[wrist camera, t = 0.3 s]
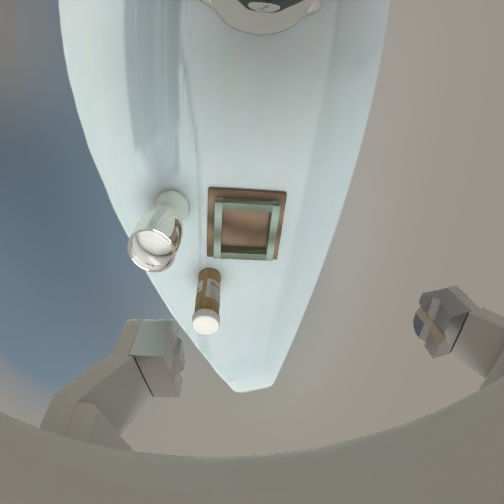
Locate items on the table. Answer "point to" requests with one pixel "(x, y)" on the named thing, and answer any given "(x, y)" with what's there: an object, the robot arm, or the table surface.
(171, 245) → the beer glass
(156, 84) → the table surface
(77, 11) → the table surface
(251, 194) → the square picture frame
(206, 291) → the sprinkles bottle
